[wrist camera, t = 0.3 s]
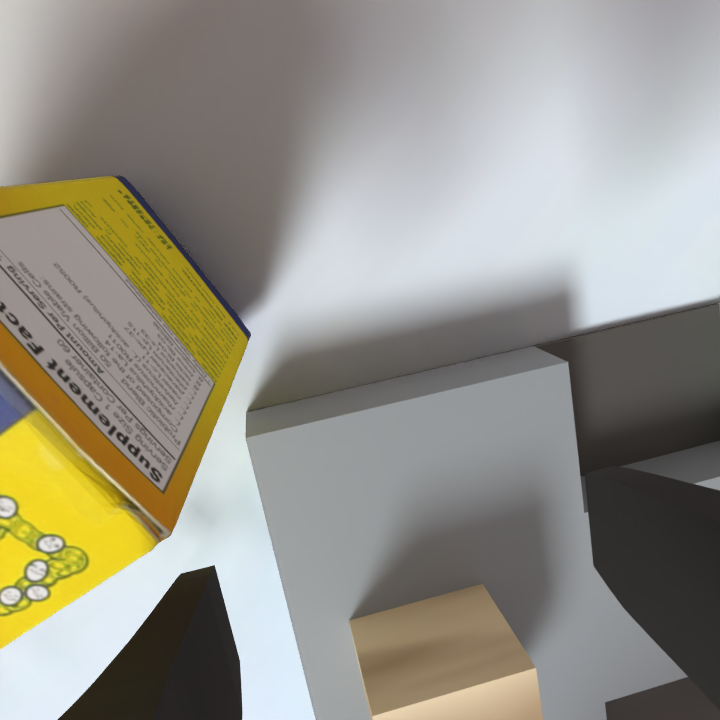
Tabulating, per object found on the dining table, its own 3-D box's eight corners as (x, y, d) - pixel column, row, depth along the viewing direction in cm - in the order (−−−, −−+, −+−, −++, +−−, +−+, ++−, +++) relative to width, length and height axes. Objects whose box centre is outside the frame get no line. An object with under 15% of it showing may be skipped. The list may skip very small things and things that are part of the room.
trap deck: (915, 654, 28) (1020, 723, 24) (350, 834, 25) (368, 946, 21) (931, 253, 24) (1063, 260, 20) (245, 412, 21) (245, 457, 17)
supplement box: (-33, 293, 18) (-497, 466, 8) (124, 169, 18) (-166, 184, 7) (107, 442, 20) (-128, 746, 10) (256, 335, 19) (175, 542, 9)
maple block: (500, 696, 22) (554, 799, 18) (374, 734, 21) (401, 849, 17) (482, 583, 21) (535, 667, 17) (348, 620, 20) (372, 716, 16)
